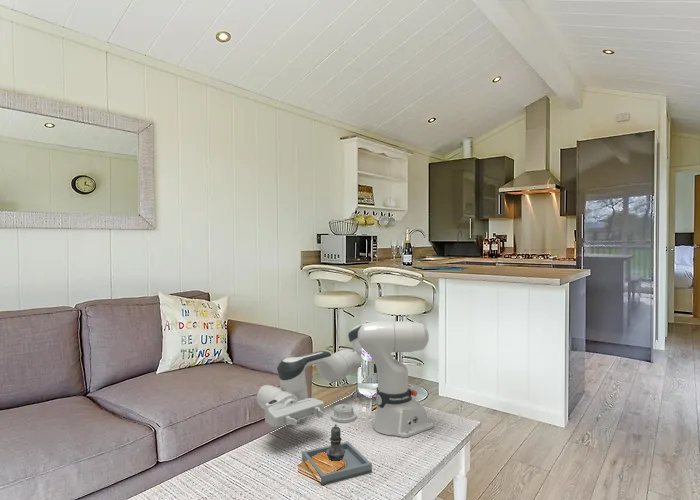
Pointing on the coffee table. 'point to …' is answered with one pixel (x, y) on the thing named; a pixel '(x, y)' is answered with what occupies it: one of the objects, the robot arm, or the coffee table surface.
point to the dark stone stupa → (335, 445)
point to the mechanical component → (343, 413)
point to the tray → (353, 468)
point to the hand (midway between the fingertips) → (309, 418)
